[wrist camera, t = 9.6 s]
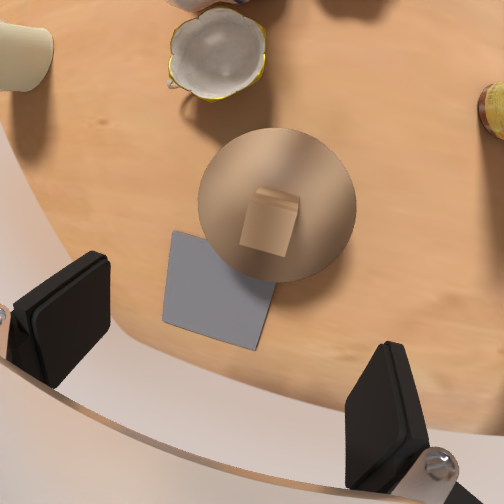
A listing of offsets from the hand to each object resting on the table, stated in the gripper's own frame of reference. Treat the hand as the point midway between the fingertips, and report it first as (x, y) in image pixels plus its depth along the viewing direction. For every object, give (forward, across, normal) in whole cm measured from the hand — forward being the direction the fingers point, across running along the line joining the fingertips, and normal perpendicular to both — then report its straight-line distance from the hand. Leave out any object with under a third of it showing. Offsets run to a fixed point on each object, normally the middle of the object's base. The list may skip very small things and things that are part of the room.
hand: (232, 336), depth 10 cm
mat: (+23, +5, +13) cm, 27 cm away
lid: (+17, +1, 0) cm, 17 cm away
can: (+22, +37, -11) cm, 45 cm away
